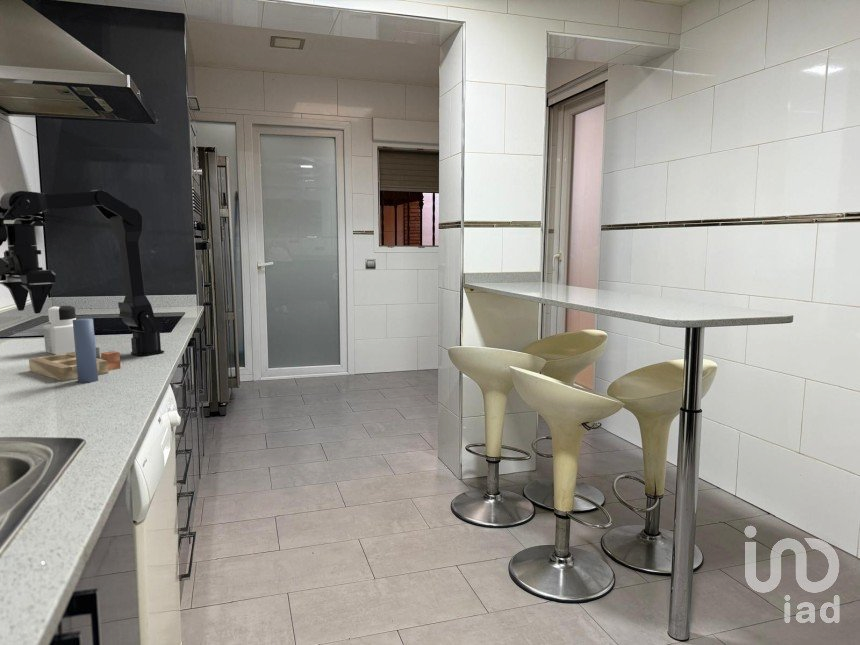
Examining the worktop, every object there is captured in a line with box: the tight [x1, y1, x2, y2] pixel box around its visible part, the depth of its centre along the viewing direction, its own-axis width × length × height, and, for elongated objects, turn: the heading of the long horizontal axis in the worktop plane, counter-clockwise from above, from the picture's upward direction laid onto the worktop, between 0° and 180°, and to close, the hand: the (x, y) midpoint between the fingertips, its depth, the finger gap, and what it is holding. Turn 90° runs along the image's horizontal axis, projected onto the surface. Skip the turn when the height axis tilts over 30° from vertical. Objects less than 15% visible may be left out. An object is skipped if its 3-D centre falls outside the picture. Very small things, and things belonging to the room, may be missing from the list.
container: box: [42, 305, 77, 355], centre depth 172 cm, size 8×8×13 cm
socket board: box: [28, 347, 122, 382], centre depth 148 cm, size 14×18×4 cm
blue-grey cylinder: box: [73, 317, 99, 384], centre depth 137 cm, size 4×4×14 cm
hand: (29, 311), depth 144 cm, fingers open, 9 cm apart
